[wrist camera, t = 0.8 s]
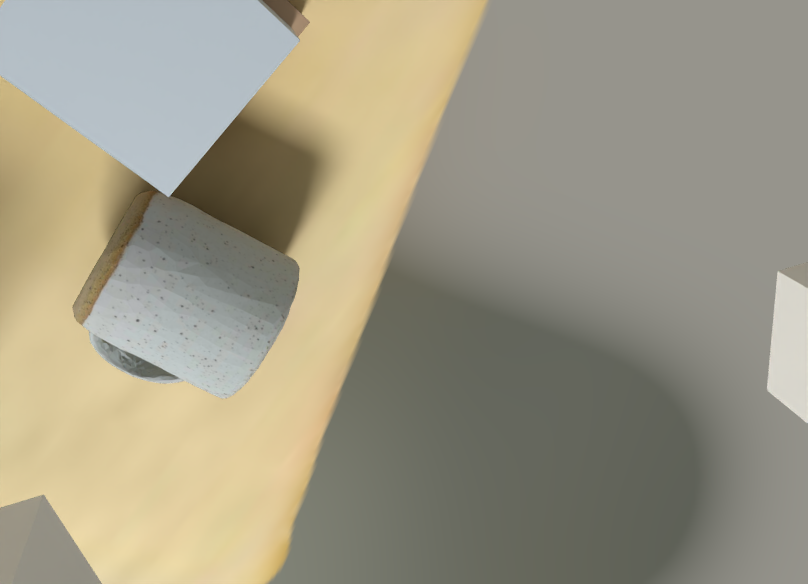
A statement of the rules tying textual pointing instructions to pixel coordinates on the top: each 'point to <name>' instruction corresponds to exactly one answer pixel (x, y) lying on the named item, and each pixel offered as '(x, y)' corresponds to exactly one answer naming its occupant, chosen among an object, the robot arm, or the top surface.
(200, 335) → the ceramic mug
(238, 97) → the tower top
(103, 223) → the top surface
